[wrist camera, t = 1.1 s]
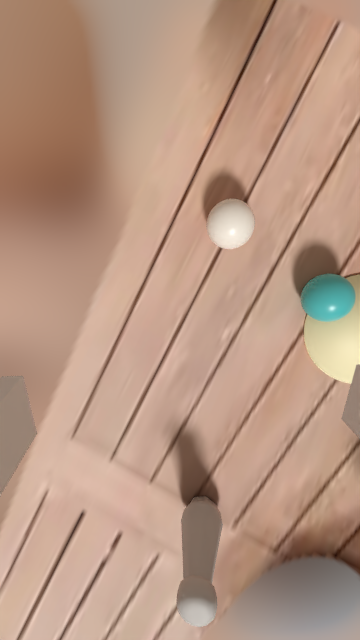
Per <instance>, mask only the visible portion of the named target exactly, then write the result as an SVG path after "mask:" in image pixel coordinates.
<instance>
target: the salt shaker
mask: <svg viewBox="0 0 360 640" xmlns="http://www.w3.org/2000/svg"><path fill="white" fill-rule="evenodd" d="M181 523H182V550H183V577H184V579H183V580H182V581H181V583H180V585H179V589H178V593H177V608H178V612H179V614H180V615H181V617H182V618H183V619H184V621H185V622H187V623H188V624H190V625H192V626H197V627H202V626H206V625H207V624H209V623H210V622H211V621H212V620H213V619H214V618H215V614H216V609H217V596H216V592H215V588H214V586H213V585H212V580H213V574H214V568H215V562H216V556H217V551H218V546H219V541H220V536H221V530H222V525H223V524H222V519H221V515H220V512H219V510H218V508H217V506H216V504H215V503H214V502H213V501H211V500H210V499H209V498H208V497H206V496H200V497H194V498H193V499H192V501H191V502H190V504H189V505H188V506H187V507H186V508H185V509H184V512H183V515H182V519H181Z"/></svg>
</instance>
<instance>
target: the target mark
mask: <svg viewBox="0 0 360 640" xmlns="http://www.w3.org/2000/svg"><path fill="white" fill-rule="evenodd" d="M345 279H347V280H348V281H349V282H350V283H351V284H352V286H353V287H354V290H355V295H356V299H355V303H354V306H353V308H352V310H351V311H350V312H349V313H348V314H347V315H346V316H344V317H343V318H341V319H339V320H336V321H331V322H323V321H318V320H315V319H313V318H312V317H310V316H309V315H308V314H307V316H306V319H305V324H304V341H305V346H306V349H307V352H308V354H309V356H310V357H311V359H312V361H313V362H314V363H315V364H316V365H317V367H318V368H319V369H321V370H322V371H323V372H324V373H326V374H327V375H329V376H330V377H332V378H334V379H336V380H339V381H342V382H346V383H350V384H351V383H352V379H353V375H354V372H355V368H356V365H359V364H360V274H359V275H354V276H350V277H347V278H345Z"/></svg>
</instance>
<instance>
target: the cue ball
mask: <svg viewBox="0 0 360 640" xmlns="http://www.w3.org/2000/svg"><path fill="white" fill-rule="evenodd" d="M254 227H255V218H254V214H253V212H252V210H251V208H250V207H249V206H248V205H247V204H246V203H245V202H243V201H241V200H239V199H226V200H223V201H221V202H219V203H218V204H216V205H215V206H214V207H213V209H212V210H211V211H210V213H209V215H208V218H207V232H208V235H209V237H210V239H211V240H212V242H213V243H214V244H216V245H217V246H219V247H221V248H224V249H234V248H238V247H240V246H242V245H243V244H245V243H246V242H247V241H248V240H249V238H250V237H251V235H252V233H253V231H254Z"/></svg>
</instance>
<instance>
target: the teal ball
mask: <svg viewBox="0 0 360 640" xmlns="http://www.w3.org/2000/svg"><path fill="white" fill-rule="evenodd" d="M355 299H356V295H355V290H354V287H353V286H352V284H351V283H350V282H349V281H348V280H347V279H345V278H344V277H342V276H340V275H336V274H323V275H319V276H316V277H314V278H313V279H311V280H310V281H309V282H308V283H307V284H306V285H305V286H304V288H303V290H302V293H301V304H302V307H303V309H304V311H305V312H306V313H307V314H308V315H309V316H310V317H312V318H313V319H315V320H318V321H323V322H331V321H336V320H339V319H341V318H343V317H344V316H346V315H347V314H348V313H349V312H350V311H351V310H352V308H353V306H354V303H355Z"/></svg>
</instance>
